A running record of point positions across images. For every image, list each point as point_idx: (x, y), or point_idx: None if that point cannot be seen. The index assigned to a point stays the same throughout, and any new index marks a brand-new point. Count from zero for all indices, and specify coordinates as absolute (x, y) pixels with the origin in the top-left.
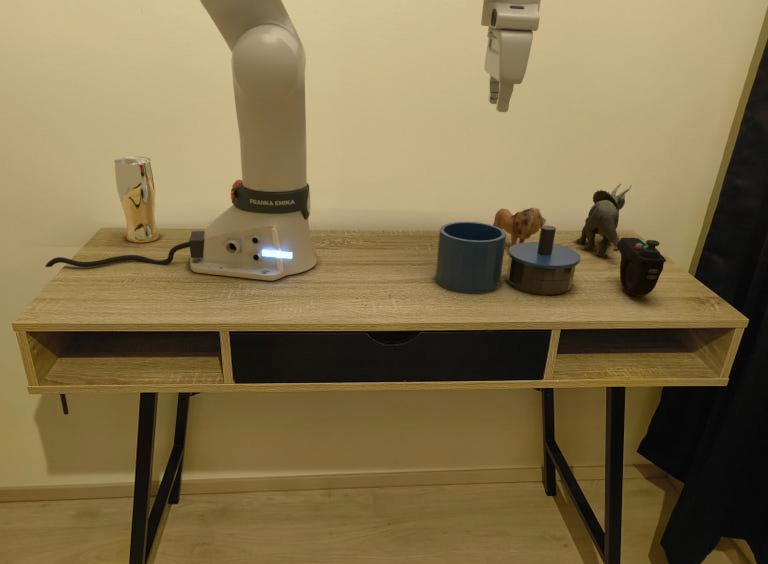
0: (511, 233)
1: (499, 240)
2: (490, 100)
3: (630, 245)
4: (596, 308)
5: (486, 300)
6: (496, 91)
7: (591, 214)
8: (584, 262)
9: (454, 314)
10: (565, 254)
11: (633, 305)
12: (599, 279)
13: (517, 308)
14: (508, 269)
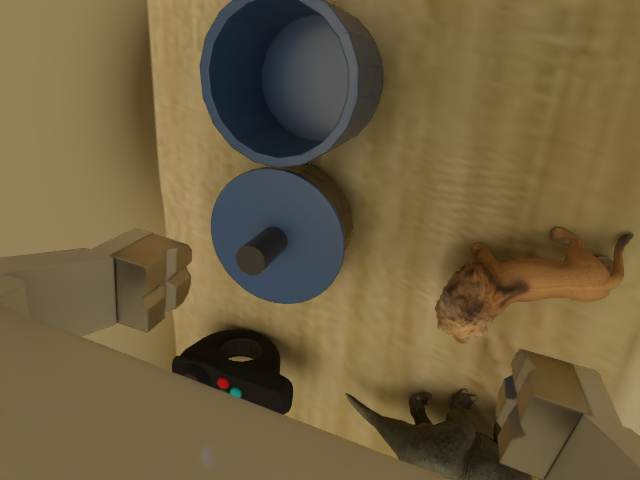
0: (491, 259)
1: (220, 130)
2: (520, 358)
3: (241, 382)
4: (202, 258)
5: None
6: (566, 466)
7: (461, 449)
8: (394, 352)
9: (171, 8)
10: (266, 275)
11: (214, 314)
12: (311, 328)
13: (198, 135)
14: (303, 168)
